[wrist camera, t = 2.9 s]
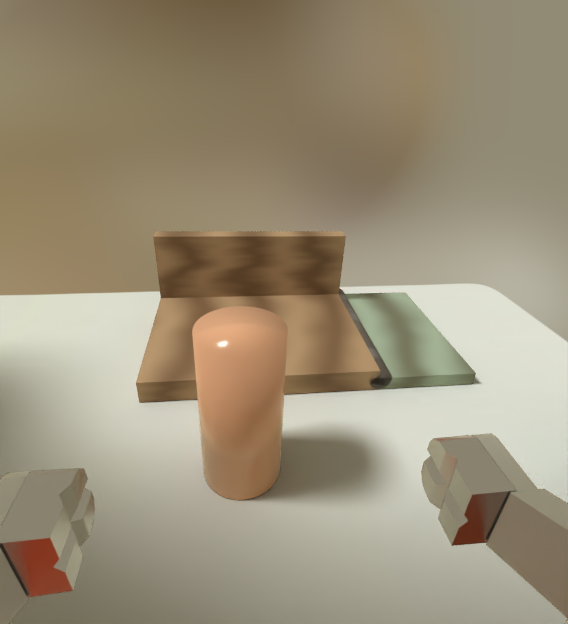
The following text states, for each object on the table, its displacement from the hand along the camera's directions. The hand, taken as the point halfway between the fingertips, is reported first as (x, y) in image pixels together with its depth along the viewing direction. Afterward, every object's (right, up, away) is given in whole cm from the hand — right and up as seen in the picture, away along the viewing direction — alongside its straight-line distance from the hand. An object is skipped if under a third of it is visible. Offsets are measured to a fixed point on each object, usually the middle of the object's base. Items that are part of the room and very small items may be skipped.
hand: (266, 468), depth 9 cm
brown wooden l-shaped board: (+2, +1, +32) cm, 32 cm away
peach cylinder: (-2, -7, +18) cm, 19 cm away
